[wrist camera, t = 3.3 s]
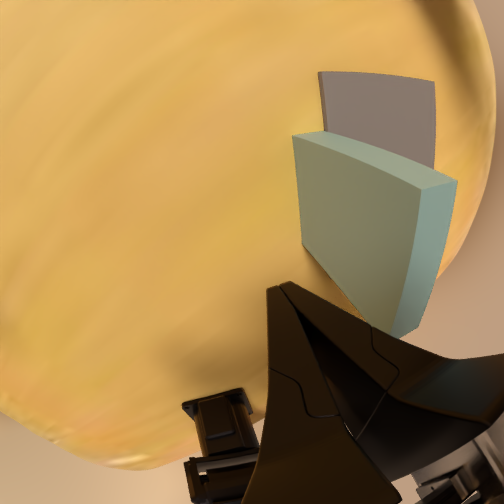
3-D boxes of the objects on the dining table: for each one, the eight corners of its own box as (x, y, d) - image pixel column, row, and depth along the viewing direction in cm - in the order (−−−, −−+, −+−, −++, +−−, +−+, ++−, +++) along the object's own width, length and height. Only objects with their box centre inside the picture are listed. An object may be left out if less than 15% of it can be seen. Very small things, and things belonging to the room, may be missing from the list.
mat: (419, 240, 21) (422, 243, 21) (328, 276, 20) (331, 279, 19) (430, 81, 13) (434, 81, 13) (317, 72, 12) (321, 71, 12)
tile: (328, 235, 18) (418, 327, 10) (302, 243, 18) (385, 346, 10) (323, 130, 14) (457, 180, 7) (291, 135, 14) (421, 189, 6)
